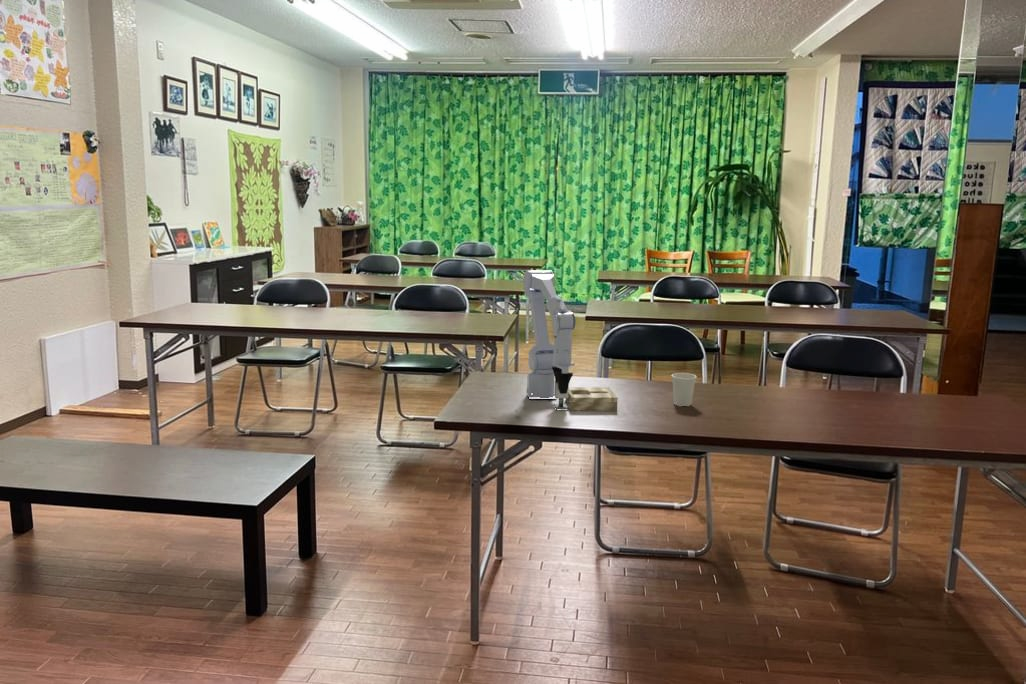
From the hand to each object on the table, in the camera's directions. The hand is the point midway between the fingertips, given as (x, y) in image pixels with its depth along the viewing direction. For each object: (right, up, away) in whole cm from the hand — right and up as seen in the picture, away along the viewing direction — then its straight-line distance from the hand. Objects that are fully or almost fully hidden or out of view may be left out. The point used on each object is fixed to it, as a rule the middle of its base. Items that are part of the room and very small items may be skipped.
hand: (561, 390), depth 252 cm
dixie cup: (+41, -5, +9) cm, 43 cm away
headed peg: (0, -6, +1) cm, 6 cm away
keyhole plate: (+10, -5, +6) cm, 13 cm away
